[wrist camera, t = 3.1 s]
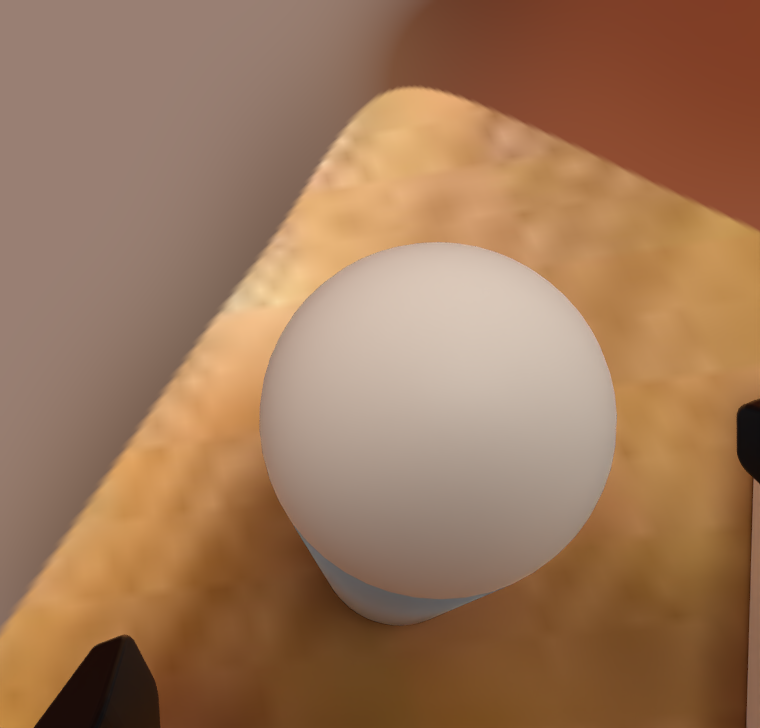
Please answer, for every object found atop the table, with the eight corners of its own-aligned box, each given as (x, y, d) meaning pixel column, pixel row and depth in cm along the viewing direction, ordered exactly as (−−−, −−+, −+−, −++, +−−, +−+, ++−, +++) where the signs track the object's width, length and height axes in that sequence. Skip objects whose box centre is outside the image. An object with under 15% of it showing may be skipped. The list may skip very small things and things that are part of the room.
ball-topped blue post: (459, 645, 17) (664, 647, 5) (297, 599, 17) (150, 502, 5) (492, 484, 18) (699, 212, 7) (344, 444, 19) (307, 126, 7)
